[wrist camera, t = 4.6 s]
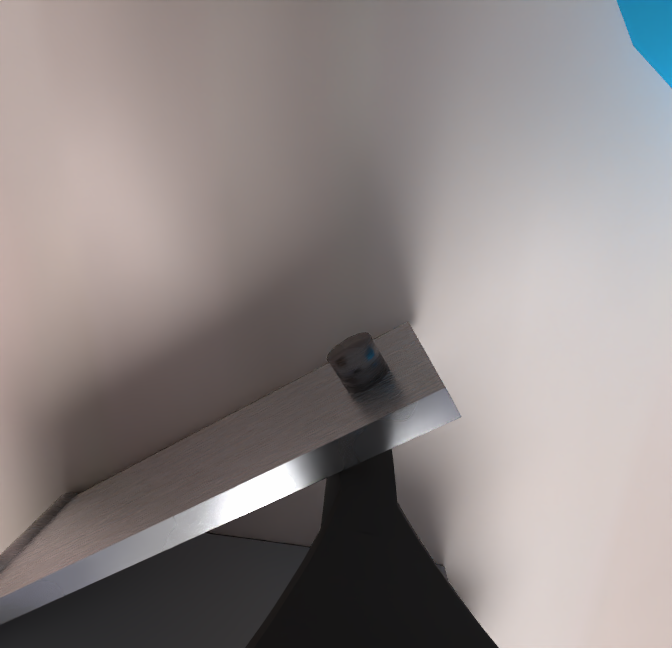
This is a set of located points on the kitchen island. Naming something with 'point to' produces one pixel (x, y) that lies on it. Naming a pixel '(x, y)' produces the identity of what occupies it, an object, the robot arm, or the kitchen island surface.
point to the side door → (231, 468)
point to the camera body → (169, 599)
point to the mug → (651, 32)
